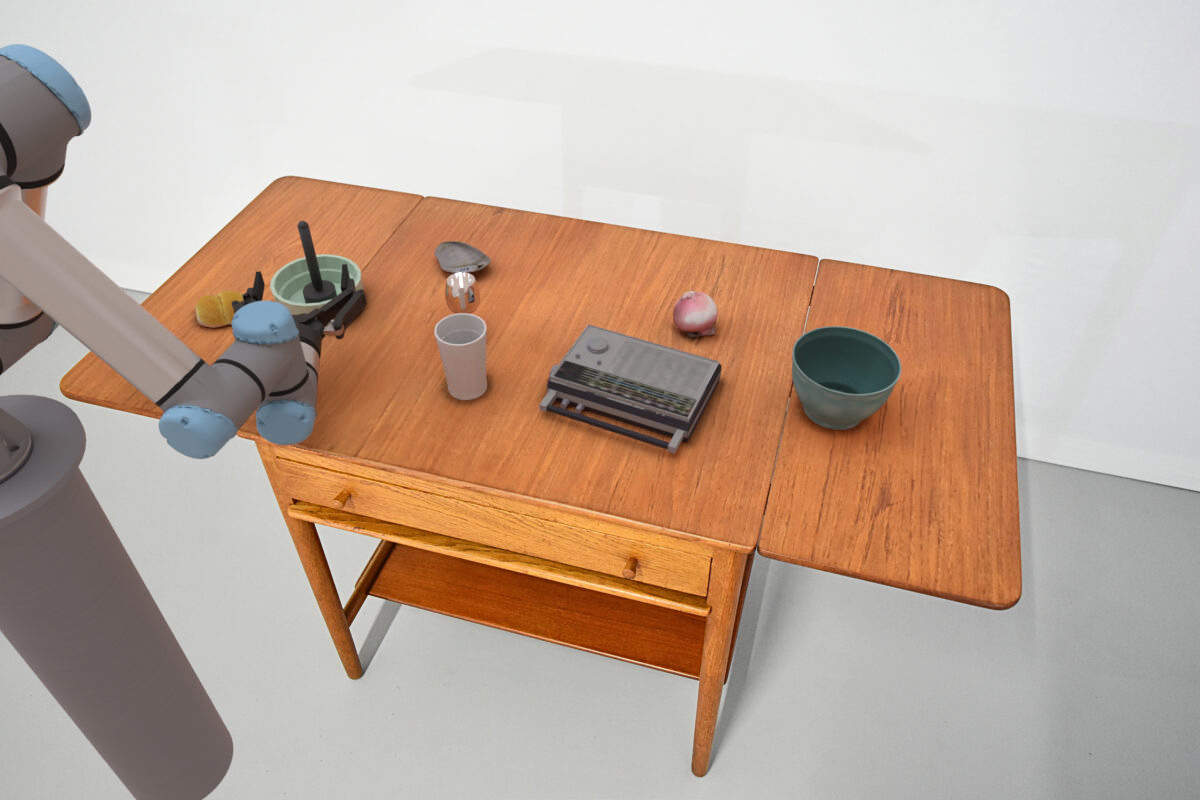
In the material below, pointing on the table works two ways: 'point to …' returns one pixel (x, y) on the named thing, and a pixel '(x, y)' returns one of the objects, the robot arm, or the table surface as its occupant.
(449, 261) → the seashell
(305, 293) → the plunger
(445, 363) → the cup
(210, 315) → the bread roll
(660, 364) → the radio
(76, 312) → the robot arm
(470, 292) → the wineglass
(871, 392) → the flower pot
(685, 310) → the onion
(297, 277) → the bowl
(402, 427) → the table surface
